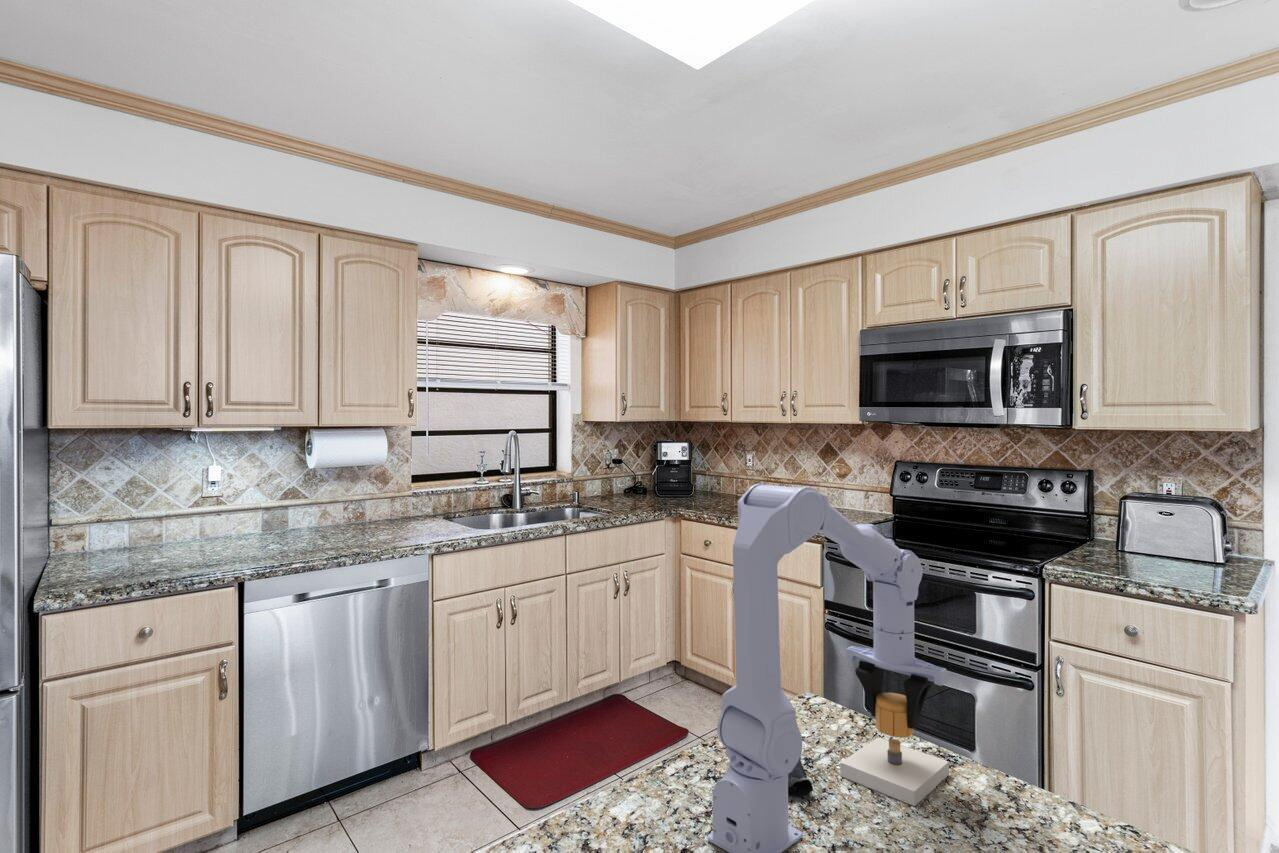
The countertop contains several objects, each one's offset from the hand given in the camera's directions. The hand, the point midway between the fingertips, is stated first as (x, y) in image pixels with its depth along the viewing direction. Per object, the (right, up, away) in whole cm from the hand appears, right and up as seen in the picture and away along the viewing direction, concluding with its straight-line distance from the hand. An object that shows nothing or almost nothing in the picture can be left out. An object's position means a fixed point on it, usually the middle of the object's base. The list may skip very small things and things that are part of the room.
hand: (894, 720), depth 96 cm
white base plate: (0, -8, 0) cm, 8 cm away
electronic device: (-18, -9, +1) cm, 20 cm away
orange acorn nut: (0, -1, 0) cm, 1 cm away
